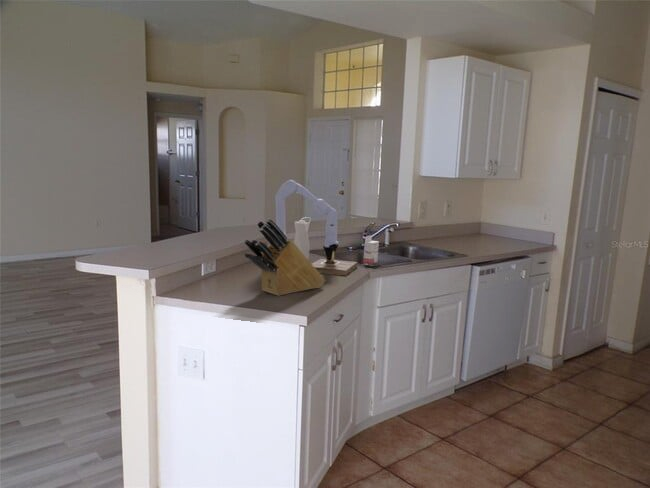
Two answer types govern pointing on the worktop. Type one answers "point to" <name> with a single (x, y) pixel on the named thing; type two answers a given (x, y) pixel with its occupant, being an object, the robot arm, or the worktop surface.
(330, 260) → the brass peg
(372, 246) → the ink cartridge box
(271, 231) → the knife block
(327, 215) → the robot arm
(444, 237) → the worktop surface
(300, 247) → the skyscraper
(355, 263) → the plate
